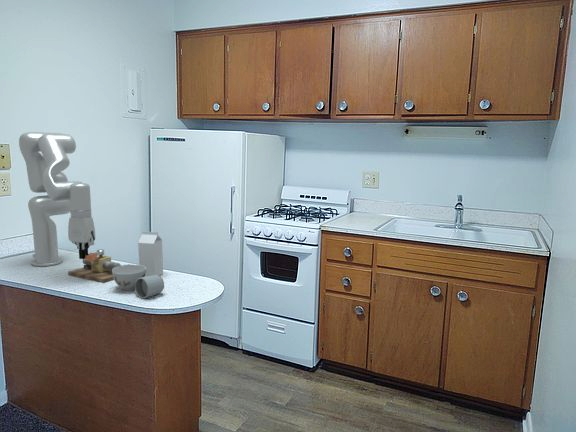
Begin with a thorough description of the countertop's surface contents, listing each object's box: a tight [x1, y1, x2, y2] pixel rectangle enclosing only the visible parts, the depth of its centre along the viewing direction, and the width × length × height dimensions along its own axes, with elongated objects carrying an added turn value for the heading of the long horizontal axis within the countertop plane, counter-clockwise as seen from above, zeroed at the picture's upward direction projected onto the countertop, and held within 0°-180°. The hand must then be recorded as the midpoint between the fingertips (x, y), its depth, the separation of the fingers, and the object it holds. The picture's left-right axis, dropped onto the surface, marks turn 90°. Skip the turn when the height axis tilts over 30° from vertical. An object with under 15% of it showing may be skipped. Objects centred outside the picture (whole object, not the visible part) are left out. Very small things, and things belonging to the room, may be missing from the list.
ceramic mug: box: [135, 275, 165, 300], centre depth 158 cm, size 11×8×8 cm
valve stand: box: [67, 255, 121, 284], centre depth 182 cm, size 22×16×8 cm
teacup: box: [112, 264, 146, 291], centre depth 166 cm, size 15×12×8 cm
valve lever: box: [85, 248, 105, 261], centre depth 177 cm, size 12×3×2 cm, turn 178°
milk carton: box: [137, 231, 164, 277], centre depth 180 cm, size 7×7×19 cm
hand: (83, 258), depth 174 cm, fingers closed
